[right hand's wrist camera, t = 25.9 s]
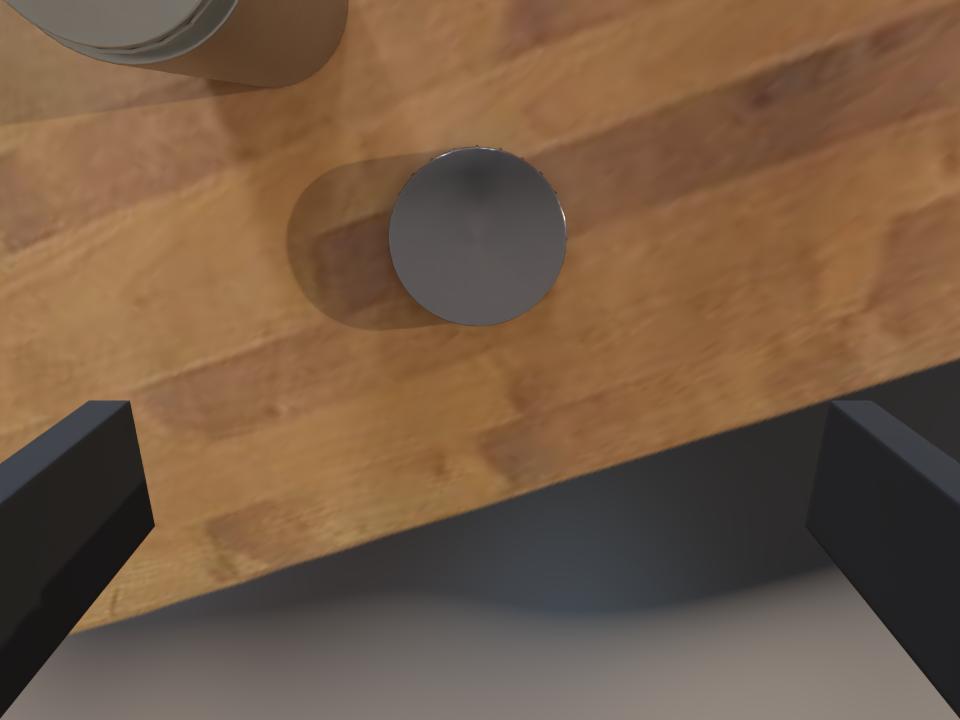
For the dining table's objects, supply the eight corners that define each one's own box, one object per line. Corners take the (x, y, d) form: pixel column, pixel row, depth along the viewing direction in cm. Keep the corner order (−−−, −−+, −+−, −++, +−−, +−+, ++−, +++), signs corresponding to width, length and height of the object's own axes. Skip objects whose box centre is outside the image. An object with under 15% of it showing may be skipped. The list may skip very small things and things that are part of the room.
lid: (588, 281, 39) (592, 287, 37) (434, 343, 40) (433, 352, 39) (526, 115, 36) (528, 115, 34) (361, 189, 37) (357, 192, 36)
